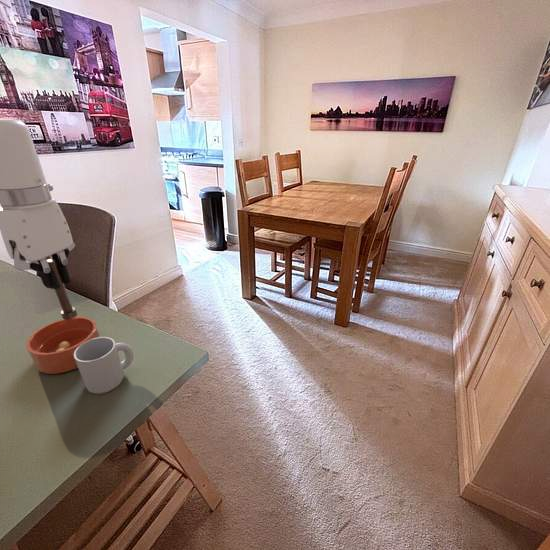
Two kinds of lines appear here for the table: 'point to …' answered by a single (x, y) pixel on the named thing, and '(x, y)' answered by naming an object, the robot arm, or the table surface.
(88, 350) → the cup
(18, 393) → the table surface
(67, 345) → the bead
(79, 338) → the bowl
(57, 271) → the stick
